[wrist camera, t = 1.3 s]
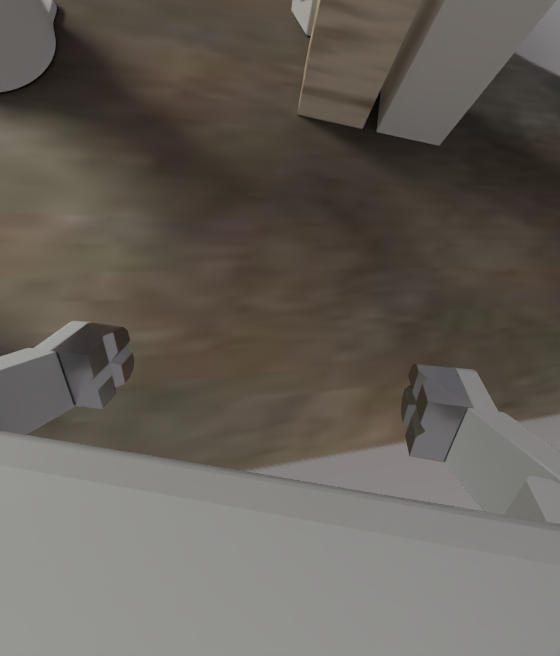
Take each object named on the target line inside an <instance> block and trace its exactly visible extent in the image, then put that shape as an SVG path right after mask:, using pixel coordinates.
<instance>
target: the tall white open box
mask: <svg viewBox="0 0 560 656" xmlns="http://www.w3.org/2000/svg"><path fill="white" fill-rule="evenodd" d="M555 1H556V0H422V1H421V3H420V5H419V7H418V9H417V12H416V14H415V16H414V18H413V20H412V22H411V25H410V27H409V29H408V31H407V33H406V35H405V38H404V40H403V42H402V44H401V46H400V48H399V51H398V53H397V55H396V57H395V59H394V61H393V64H392V66H391V68H390V70H389V72H388V74H387V77H386V79H385V81H384V83H383V85H382V87H381V94H380V103H379V112H378V121H377V130H376V132H378V133H383V134H388V135H392V136H397V137H401V138H406V139H410V140H415V141H419V142H424V143H428V144H433V145H438V146H439V145H440V144H441V143H442V142H443V140H444V139H445V138H446V137H447V135H448V134H449V133H450V132H451V130H452V129H453V128H454V127H455V126H456V124H457V123H458V122H459V121H460V119H461V118H462V117H463V116H464V114H465V113H466V112H467V111H468V109H469V108H470V107H471V106H472V104H473V103H474V102H475V101H476V99H477V98H478V97H479V96H480V94H481V93H482V92H483V91H484V89H485V88H486V87H487V86H488V85H489V83H490V82H491V81H492V80H493V78H494V77H495V76H496V75H497V73H498V72H499V71H500V70H501V68H502V67H503V66H504V65H505V63H506V62H507V61H508V60H509V58H510V57H511V56H512V55H513V53H514V52H515V51H516V50H517V48H518V47H519V46H520V45H521V43H522V42H523V41H524V40H525V39H526V37H527V36H528V35H529V34H530V32H531V31H532V30H533V28H534V27H535V26H536V25H537V24H538V22H539V21H540V20H541V19H542V17H543V16H544V15H545V13H546V12H547V11H548V10H549V9H550V7H551V6H552V5H553V4H554V3H555Z"/></svg>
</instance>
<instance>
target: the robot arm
mask: <svg viewBox="0 0 560 656" xmlns="http://www.w3.org/2000/svg"><path fill="white" fill-rule="evenodd" d="M56 11H57V6H56V4H55V2H54V0H0V92H5V91H10V90H13V89H17V88H19V87H22V86H24V85H26V84H28V83H30V82H32V81H33V80H35V79H36V78H37V77H39V76H40V75H41V74H42V73H43V72H44V71H45V70H46V68H47V67H48V65H49V64H50V62H51V60H52V58H53V56H54V52H55V47H56V39H55V33H54V29H53V21H54V18H55V15H56ZM129 341H130V338H129V334H128V330H126V329H125V328H124V327H120V326H113V325H106V324H99V323H91V322H85V321H71V322H70V323H68V324H67V325H65V326H64V327H63V328H61V329H60V330H58V331H57V332H56V333H54V334H53V335H51V336H50V337H49V338H47V339H46V340H44V341H43V342H42V343H40V344H39V345H37V346H36V347H34V348H33V349H32V348H26V349H23V350H20V351H16V352H13V353H10V354H6V355H3V356H0V656H560V451H559V450H558V449H556V448H555V447H553V446H552V445H550V444H549V443H548V442H546V441H545V440H543V439H541V438H540V437H539V436H537V435H536V434H535V433H533V432H532V431H530V430H529V429H528V428H526V427H525V426H523V425H522V424H520V423H519V422H517V421H516V420H515V419H513V418H512V417H510V416H509V415H507V414H506V413H503V412H498V410H497V408H496V406H495V404H494V403H493V401H492V399H491V397H490V395H489V394H488V392H487V390H486V388H485V386H484V384H483V383H482V381H481V379H480V377H479V375H478V373H477V372H476V371H475V370H473V369H464V368H450V367H441V366H431V365H422V364H413V365H412V367H411V369H410V372H409V380H410V384H411V385H409V386H408V387H407V388H405V389H404V393H403V397H402V405H401V415H402V421H403V424H404V425H405V426H406V427H407V428H408V429H407V432H406V435H405V437H406V441H407V446H408V451H409V456H412V457H418V458H423V459H429V460H434V461H440V462H445V463H444V464H445V466H446V467H447V468H448V469H449V470H450V471H451V473H452V474H453V475H454V476H455V477H456V479H457V480H458V481H459V482H460V483H461V485H462V486H463V487H464V488H465V489H466V490H467V492H468V493H469V494H470V495H471V496H472V498H473V499H474V500H475V501H476V502H477V504H478V505H479V506H480V507H481V508H482V509H483V511H479V510H473V509H466V508H461V507H455V506H449V505H443V504H437V503H430V502H424V501H418V500H412V499H405V498H399V497H394V496H388V495H382V494H376V493H369V492H364V491H358V490H352V489H346V488H340V487H334V486H328V485H322V484H317V483H311V482H305V481H299V480H293V479H287V478H281V477H275V476H269V475H263V474H257V473H251V472H246V471H240V470H233V469H227V468H221V467H215V466H209V465H203V464H197V463H191V462H185V461H179V460H173V459H167V458H161V457H155V456H149V455H143V454H137V453H131V452H125V451H119V450H113V449H107V448H101V447H95V446H89V445H83V444H77V443H71V442H65V441H59V440H53V439H47V438H41V437H35V436H29V435H26V434H28V433H30V432H31V431H33V430H35V429H37V428H38V427H40V426H42V425H44V424H45V423H47V422H49V421H51V420H52V419H54V418H56V417H58V416H59V415H61V414H63V413H65V412H66V411H68V410H70V409H72V408H73V407H74V405H75V406H83V407H91V408H99V409H103V408H104V407H105V406H106V405H107V404H108V403H109V401H110V400H111V399H112V398H113V397H114V396H115V394H116V387H118V386H120V385H122V384H124V383H126V381H127V380H128V379H129V378H130V376H131V373H132V371H133V368H134V357H133V353H132V351H131V350H130V349H129V348H128V347H127V344H128V343H129Z"/></svg>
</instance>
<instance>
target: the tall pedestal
mask: <svg viewBox="0 0 560 656" xmlns="http://www.w3.org/2000/svg"><path fill="white" fill-rule="evenodd" d="M421 1H422V0H318V3H317V8H316V14H315V19H314V24H313V29H312V34H311V39H310V44H309V49H308V54H307V59H306V64H305V70H304V76H303V82H302V88H301V95H300V101H299V107H298V113H297V115H302V116H306V117H311V118H315V119H320V120H324V121H329V122H333V123H338V124H342V125H347V126H352V127H356V128H361V129H363V126H364V124H365V122H366V120H367V118H368V116H369V113H370V111H371V109H372V107H373V105H374V103H375V100H376V98H377V96H378V94H379V92H380V90H381V87H382V85H383V83H384V81H385V79H386V77H387V74H388V72H389V70H390V68H391V66H392V64H393V61H394V59H395V57H396V55H397V53H398V51H399V48H400V46H401V44H402V42H403V40H404V38H405V35H406V33H407V31H408V29H409V27H410V25H411V22H412V20H413V18H414V16H415V14H416V12H417V9H418V7H419V5H420V3H421Z"/></svg>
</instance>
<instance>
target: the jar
mask: <svg viewBox="0 0 560 656" xmlns="http://www.w3.org/2000/svg"><path fill="white" fill-rule="evenodd" d="M317 3H318V0H293V1H292V9H291V10H292V12H293V14H294V16H295V17H296V19H297V21H298V22H299V24H300V26H301V27H302V29H303V31H304V32H305V34H306V35H307V36H311V34H312V29H313V24H314V19H315V14H316V8H317Z"/></svg>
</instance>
